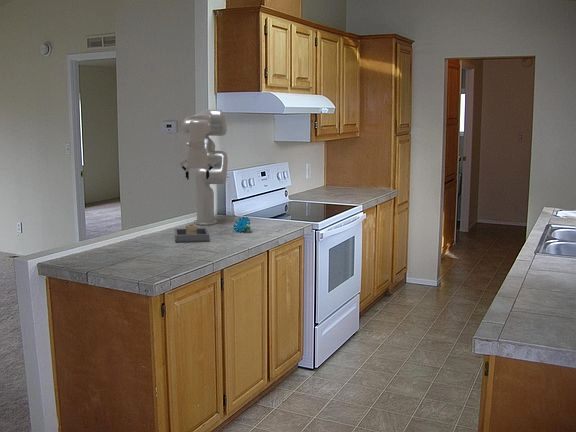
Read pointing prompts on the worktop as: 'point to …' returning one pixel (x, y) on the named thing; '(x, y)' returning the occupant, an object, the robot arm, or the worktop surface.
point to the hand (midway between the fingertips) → (197, 179)
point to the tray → (191, 236)
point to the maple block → (191, 229)
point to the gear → (242, 225)
